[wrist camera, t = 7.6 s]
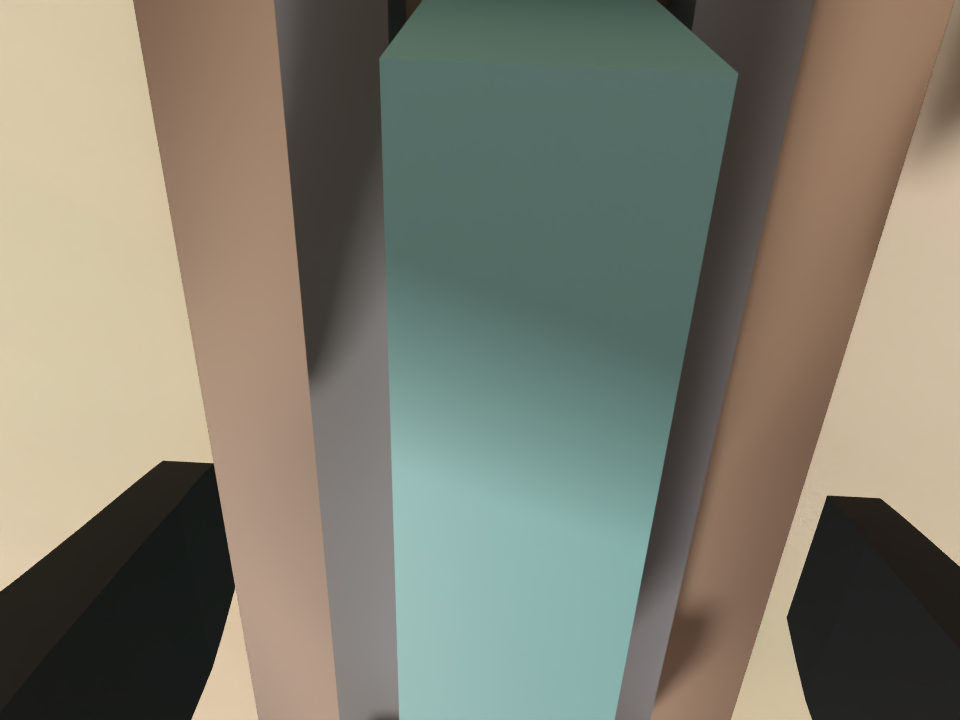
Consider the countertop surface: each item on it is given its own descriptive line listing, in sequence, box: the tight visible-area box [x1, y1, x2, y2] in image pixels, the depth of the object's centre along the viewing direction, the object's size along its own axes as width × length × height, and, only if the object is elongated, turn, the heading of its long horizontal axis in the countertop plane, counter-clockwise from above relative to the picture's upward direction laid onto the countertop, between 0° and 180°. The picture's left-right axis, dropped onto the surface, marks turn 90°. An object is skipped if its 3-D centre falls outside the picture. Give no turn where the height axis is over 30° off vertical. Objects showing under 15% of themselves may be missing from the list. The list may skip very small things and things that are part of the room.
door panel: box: [379, 0, 738, 720], centre depth 10 cm, size 2×12×6 cm, turn 178°
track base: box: [133, 0, 954, 720], centre depth 12 cm, size 10×18×4 cm, turn 178°
